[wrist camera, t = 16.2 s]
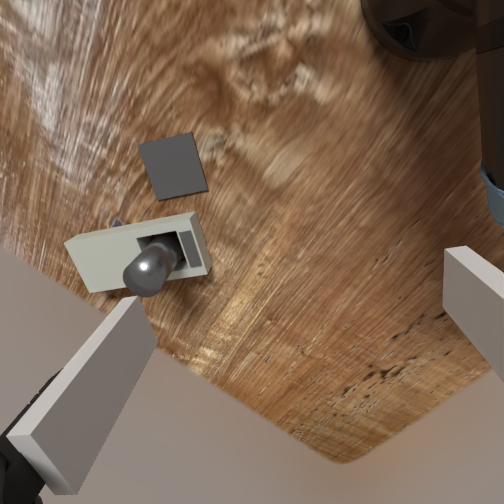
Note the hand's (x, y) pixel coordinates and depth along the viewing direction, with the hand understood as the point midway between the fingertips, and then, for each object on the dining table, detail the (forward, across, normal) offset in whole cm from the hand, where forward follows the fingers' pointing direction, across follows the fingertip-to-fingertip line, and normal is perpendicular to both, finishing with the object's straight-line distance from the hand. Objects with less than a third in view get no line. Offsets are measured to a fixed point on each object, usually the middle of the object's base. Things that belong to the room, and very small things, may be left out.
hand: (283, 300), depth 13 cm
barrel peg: (+27, -17, -6) cm, 32 cm away
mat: (+27, -13, +4) cm, 30 cm away
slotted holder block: (+27, -21, -6) cm, 34 cm away
